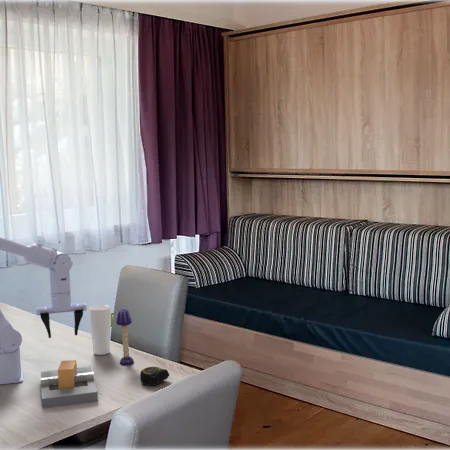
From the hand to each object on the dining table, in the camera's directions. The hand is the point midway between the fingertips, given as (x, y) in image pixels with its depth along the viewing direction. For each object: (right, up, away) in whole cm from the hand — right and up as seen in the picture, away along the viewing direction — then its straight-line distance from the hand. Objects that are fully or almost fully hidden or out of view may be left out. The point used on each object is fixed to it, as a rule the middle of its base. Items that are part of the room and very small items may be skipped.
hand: (63, 335), depth 193 cm
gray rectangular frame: (+6, -12, -18) cm, 22 cm away
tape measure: (+29, -11, -13) cm, 34 cm away
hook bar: (+6, -9, -18) cm, 21 cm away
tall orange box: (+6, -11, -18) cm, 21 cm away
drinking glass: (+9, -8, +12) cm, 17 cm away
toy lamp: (+19, -9, +3) cm, 21 cm away
